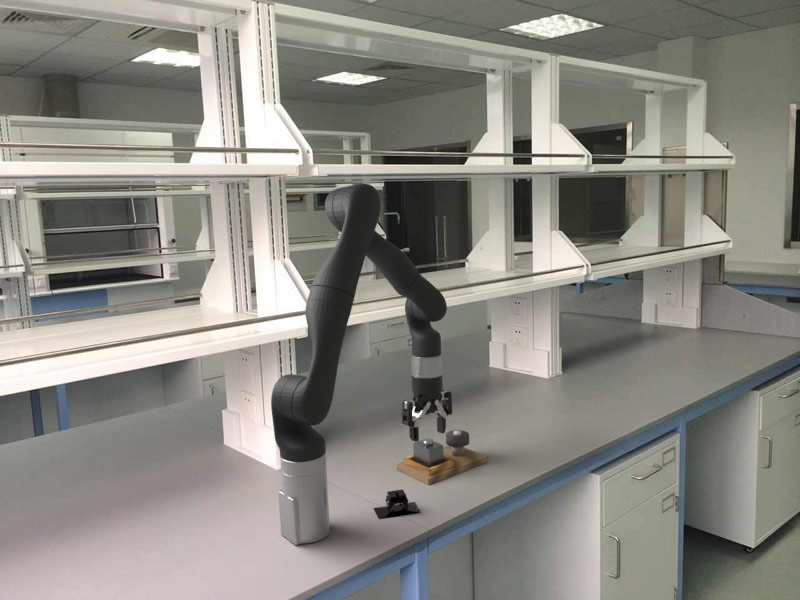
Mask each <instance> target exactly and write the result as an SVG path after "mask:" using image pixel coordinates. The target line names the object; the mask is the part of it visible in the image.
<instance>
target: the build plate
mask: <svg viewBox="0 0 800 600" xmlns="http://www.w3.org/2000/svg"><path fill="white" fill-rule="evenodd" d="M385 502H386V505H384V506H377V507H373V508H372V509H373V510H374V513H375V516H376V517H377V518H378V520H385V519H391V518H398V517H405V516H411V515H417V514H422V511H421V510H420V508H419V506H418V504H417V503H416V501H410V502H409V499H408V497H407V494H406V492H405V491H404V489H398V490H397V489H395V490H389V491H386V496H385Z"/></svg>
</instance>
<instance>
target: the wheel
mask: <svg viewBox="0 0 800 600" xmlns="http://www.w3.org/2000/svg"><path fill="white" fill-rule="evenodd" d="M445 444H446V446H452V447H463V446H464V447H467V446H469V444H470V433H469V432H468V431H465V430H460V429H459V430H458V429H454V430H449V431H447V432H445Z"/></svg>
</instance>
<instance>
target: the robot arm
mask: <svg viewBox="0 0 800 600" xmlns="http://www.w3.org/2000/svg"><path fill="white" fill-rule="evenodd" d="M381 209H382V202H381V196H380V194H379V192H378V189H377V188H375V186H373V185H371V184H369V183H357V184H353V185H347V186H341V187H338V188H336V189H333V190H331V191H330V192H329V193H328V194H327V196H326V199H325V203H324V210H325V211H324V212H325V215H326V217H327V218H328V221H329V222H330V223H331V224H332V225H333V227H335V228H336V229H337V230H338V231H339V232H340V235H339V237H338V240H337V243H336V245H335V247H334V248H333V250H332V251H331V253H330V254H329V255H328V257H327V258H326V259H325V260H324V262H323V263H322V265H321V266H320V268H319V269H318V270H317V272H316V274H315V275H314V277H313V280H312V283H311V287H310V288H309V289H310V290H309V293H308V297H307V300H306V305H305V319H306V324H307V329H308V332H309V336H310V340H311V341H310V342H311V347H312V349H311V350H312V354H311V361H310V365H309V370H308V374H307V376H304V375H299V374H293V373H292V374H285V375H282V376H281V377H279V378H278V379H277V381H276V382H275V384H274V385H273V388H272V391H271V399H270V404H271V406H270V407H271V417H272V425H273V434H274V435H273V436H274V440H275V444H276V445H277V448H278V450H279V459H280V460H279V461H280V475H281V478H280V479H281V489H280V490H278V492H277V495H278V505H279V506H278V508H279V521H280V525H279V526H280V535H282V537H284V538H285V539H286V540H289V542H291V543H292V544H293V545H294V546H299V545H302V544H310V543H316V542H319V541H321V540H323V539H325V538H326V537H327V536H328V535H329V534H330V532H331V525H330V522H331V521H330V520H331V519H330V506H329V505H330V503H329V488H328V470H327V450H326V449H327V448H326V447H327V446H326V440H325V438H324V436H323V435H322V434H320V433H319V432H318V431H317V430H315V428H313V427H312V426H317V425H320V424H321V423H323V422H324V421H325V419H326V417H327V416H328V414H329V412H330V409H331V406H332V404H333V403H332V402H333V400H334V399H333V398H334V393H335V389H336V388H335V386H336V382H337V381H336V380H337V375H338V374H337V373H338V370H339V369H338V368H339V363H340V362H339V361H340V358H341V357H340V355H341V351H342V347H343V342H344V338H345V334H346V330H347V326H348V322H349V319H350V316H351V312H352V309H353V305H354V300H355V297H356V291H357V288H358V283H359V280H360V276H361V273H362V269H363V266H364V261H365V259H366V258H368V260H369V261H371V262H372V264H373V265H374V266H375V267H376V268H377V269H378V270H379V271H380V273H381V274H382V275H383V276H384V278H385V279H386V280H387V281H388V283H389V284H390V285H391V286H392V288H393V289H394V291H395V292H396V293H397V294H398V295H399V296H401V297H404V298H406V300H405V304H404V312H405V318H406V323H407V326H408V329H409V334H410V336H411V354H412V355H411V371H410V372H411V390H412V391H411V392H412V394H413V398H412V399H409V400H407V399H404V400H403V401H402V403H401V405H402V409H401V412H402V413H401V424H402V425H405V426H407V427H409V428H408V429H409V439H410V440H411V441H412V442H414V443H415V442H418V441H420V433H419V432H420V431H419V428H420V427H419V423H420V422H421V420H423V419H424V417H425V416H427V415H429V414H434V413H435V415H436V416H437V417H436V431H437V433H439V434H446V429H447V417H448V416H450V415H451V416H452V414H453V400H452V397H453V396H452V392H451V391H448V390H445V389H444V388H443V387H444V385H443V359H442V338H441V334H440V332H439V331H438V330H436V329H434V328H433V326H432V324H431V323H434V322H435V323H436V322H439V321H441V320H442V319H444V317H445V316H446V315H447V314H446V313H447V310H448V306H447V301H446V299H445V297H444V295H443V294H442V292H441V291H440V290H439V289H437V287H436V286H434V285H433V284H432V283H431V282H430V281H429V280H428V279H427V278H425V277H424V276H423V275H422V274H421V273H420V271H419V270H418V268H417V267H416V265H415V264H414V263H413V262H412V260H411V259H410V258H409V256H408V255H407V254H406V253H405V252H404V251H403V250H401V249H400V248H399V247H398V246H396V245H395V244H393V243H392V242H391V241H389V240H388V239H386V238H385V237H383V236H382V235H381V234H379V232H378V231H376V228H377V225H378V222H379V219H380V215H381Z"/></svg>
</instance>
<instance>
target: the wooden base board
mask: <svg viewBox="0 0 800 600" xmlns="http://www.w3.org/2000/svg"><path fill="white" fill-rule="evenodd" d="M443 457H444V463H441V464H439V465H436V466H433V467H431V468H428V467H426V466H424V465H421V464H419V463H417V462H415V461H414V454H412V455H409V456H406V457H404V458H403V461H401V462H399V463H396V471H398V472H400V473H402V474H404V475H406V476H408V477H410V478H413V479H414V480H416V481H419V482H421V483H423V484H424V485H426V486H429V485H432V484H434V483H437V482H440V481H442V480H444V479H446V478H447V479H448V478H450V477H452V476H455V475H457V474H460V473H462V472H465V471H468V470H471V469H473V468H476V467H478V466H480V465H483V464H485V463H487V462H488V456H487V455H484V454H482V453H479V452H477V451H474V450H472V449H469V448H466V447H465V446H463V447H452V446H449V445H446V446H443Z"/></svg>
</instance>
